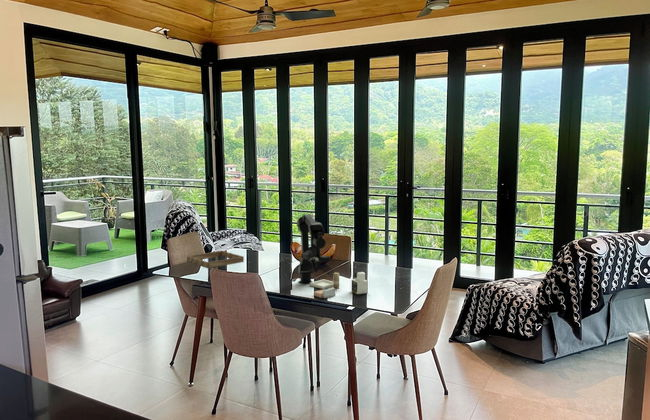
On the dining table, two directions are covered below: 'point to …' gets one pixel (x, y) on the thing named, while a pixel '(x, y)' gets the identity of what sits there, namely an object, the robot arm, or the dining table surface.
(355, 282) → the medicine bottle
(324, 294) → the grey sanding sponge
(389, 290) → the dining table surface
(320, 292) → the peach rectangular block
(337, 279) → the dowel
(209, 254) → the frame
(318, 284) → the tray
